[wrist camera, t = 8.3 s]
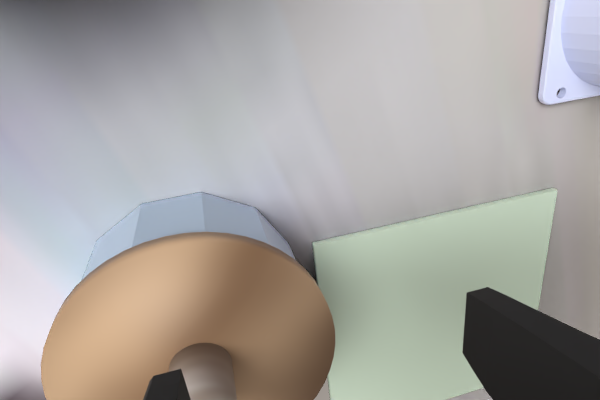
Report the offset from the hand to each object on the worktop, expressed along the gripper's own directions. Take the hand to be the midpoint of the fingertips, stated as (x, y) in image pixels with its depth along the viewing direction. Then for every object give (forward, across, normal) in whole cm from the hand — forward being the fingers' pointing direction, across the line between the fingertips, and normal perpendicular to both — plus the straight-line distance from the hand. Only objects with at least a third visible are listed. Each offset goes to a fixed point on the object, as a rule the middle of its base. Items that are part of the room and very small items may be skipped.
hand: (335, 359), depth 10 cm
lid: (+6, +4, +4) cm, 9 cm away
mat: (+10, -9, +10) cm, 17 cm away
